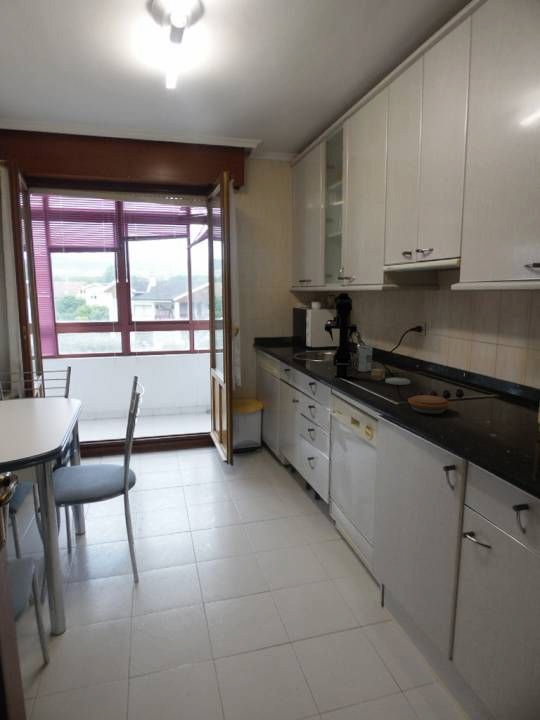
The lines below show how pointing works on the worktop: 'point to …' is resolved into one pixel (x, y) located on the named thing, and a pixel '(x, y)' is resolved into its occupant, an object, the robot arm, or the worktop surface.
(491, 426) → the worktop surface
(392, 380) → the saucer
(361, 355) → the syrup box
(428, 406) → the pie
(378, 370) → the beech block
